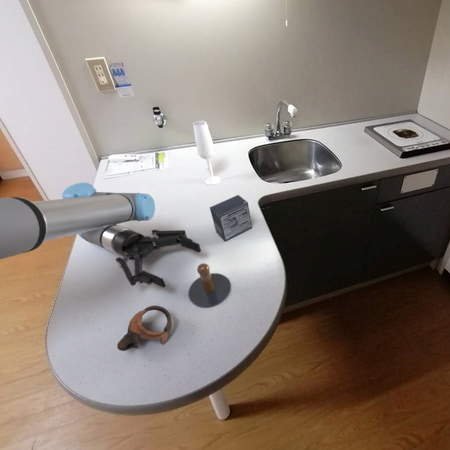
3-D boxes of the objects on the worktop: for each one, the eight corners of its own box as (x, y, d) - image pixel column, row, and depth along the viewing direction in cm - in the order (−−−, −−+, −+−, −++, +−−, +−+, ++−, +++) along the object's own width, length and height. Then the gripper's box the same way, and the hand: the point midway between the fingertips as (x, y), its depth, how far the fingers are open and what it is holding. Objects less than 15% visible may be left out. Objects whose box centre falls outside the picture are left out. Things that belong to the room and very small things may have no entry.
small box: (242, 218, 105) (238, 193, 99) (253, 228, 102) (249, 202, 95) (215, 232, 100) (208, 206, 93) (225, 242, 96) (218, 216, 90)
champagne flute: (224, 180, 125) (213, 122, 109) (210, 186, 121) (196, 128, 106) (215, 174, 128) (202, 117, 113) (201, 180, 125) (186, 123, 109)
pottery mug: (147, 312, 77) (155, 294, 73) (174, 337, 77) (184, 320, 72) (103, 346, 67) (109, 328, 63) (134, 375, 67) (143, 358, 62)
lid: (199, 315, 76) (189, 290, 70) (182, 287, 83) (172, 262, 77) (238, 293, 81) (232, 268, 75) (219, 268, 88) (212, 243, 82)
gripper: (160, 226, 98) (214, 245, 91) (91, 281, 81) (150, 310, 74) (153, 207, 94) (209, 226, 87) (78, 262, 76) (140, 290, 69)
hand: (182, 264), depth 80 cm, fingers open, 13 cm apart
